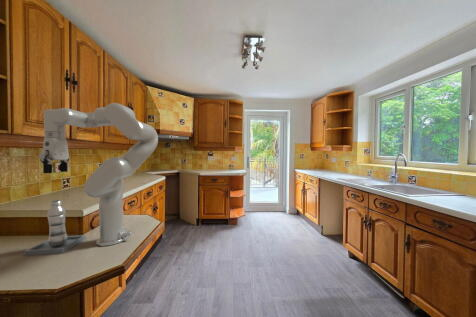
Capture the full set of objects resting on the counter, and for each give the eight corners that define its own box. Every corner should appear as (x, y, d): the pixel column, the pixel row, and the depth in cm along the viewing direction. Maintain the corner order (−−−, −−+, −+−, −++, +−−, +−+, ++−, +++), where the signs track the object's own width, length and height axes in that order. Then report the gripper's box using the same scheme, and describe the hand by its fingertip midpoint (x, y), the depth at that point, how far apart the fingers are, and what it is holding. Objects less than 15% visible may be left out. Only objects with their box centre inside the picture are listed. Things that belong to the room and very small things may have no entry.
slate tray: (85, 239, 99) (85, 235, 99) (62, 253, 84) (62, 248, 84) (53, 241, 98) (53, 237, 98) (24, 255, 83) (24, 251, 83)
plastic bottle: (56, 248, 87) (54, 202, 87) (44, 247, 89) (42, 202, 89) (71, 242, 94) (69, 199, 93) (59, 241, 95) (57, 199, 95)
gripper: (49, 134, 88) (50, 173, 88) (76, 138, 105) (76, 171, 105) (30, 134, 87) (31, 174, 87) (60, 138, 104) (61, 171, 104)
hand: (56, 172), depth 96 cm, fingers open, 9 cm apart
